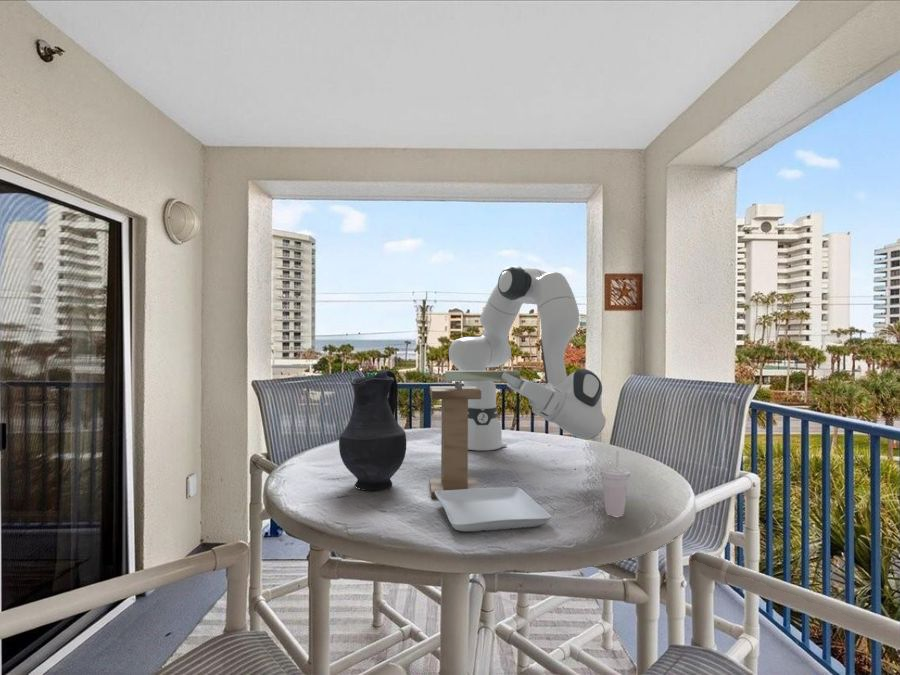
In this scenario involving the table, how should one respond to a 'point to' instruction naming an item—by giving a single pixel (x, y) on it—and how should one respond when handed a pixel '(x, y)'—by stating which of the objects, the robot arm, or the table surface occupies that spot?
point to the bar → (478, 375)
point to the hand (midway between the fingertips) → (500, 373)
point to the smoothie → (615, 488)
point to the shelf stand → (454, 437)
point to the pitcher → (373, 432)
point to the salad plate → (491, 509)
